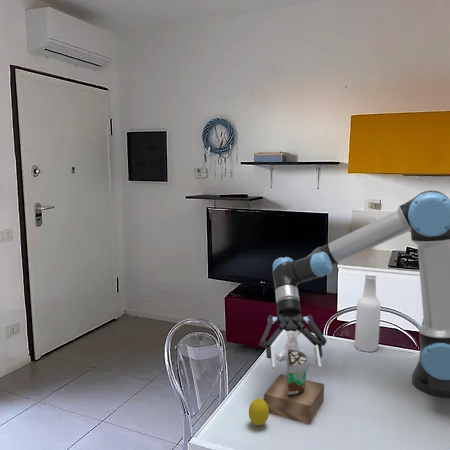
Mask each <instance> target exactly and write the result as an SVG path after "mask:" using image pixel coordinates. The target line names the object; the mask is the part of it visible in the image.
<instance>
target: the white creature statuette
mask: <svg viewBox="0 0 450 450" xmlns="http://www.w3.org/2000/svg"><path fill="white" fill-rule="evenodd" d="M300 334H301V333H300V332H299V331H298V330H296V331H286V336H287V338H286V340H285V342H284V343H285V344H284V347H283V350H281V351H280V352H278V353H277V355H276V357H275V358H276V360H278V361H281V360H285V361H288V349H294V350H298V351H301V350H300V347H299V341H298V339H297V338H298V337H299V335H300Z"/></svg>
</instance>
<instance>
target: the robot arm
mask: <svg viewBox="0 0 450 450" xmlns="http://www.w3.org/2000/svg"><path fill="white" fill-rule="evenodd" d="M409 232H410V238H411V242H413V243H414V244H416V246H417V256H418V267H419V268H418V269H419V279H420V281H419V282H420V291H421V304H422V317H423V318H422V323H421V326H420V327H419V328H418V332H419V333H418V334H419V344H420V345H419V348H420V349H419V359H418V362H417V364H416V366H415V368H414V370H413V372H412V374H411V375H412V377H411V383H412V385H413V386H414V387H415V388H417V389H418V390H419V391H421V392H423V393H426V394H429V395H432V396H437V397H440V398H441V397H442V398H450V199H449V197H448V196H447V195H446V194H444V193H443V192H442V191H438V190H424V191H423V192H420V193H419V194H417V195H416V196H414V197H413V198H412V199H409V200H408V201H407V202H405V203H403V204H400V205H399V206H398V208H397V210H395V211H393V212H391V213H389V214H387V215H385V216H383V217H381V218H379V219H377V220H374V221H372V222H371V223H369V224H365V225H364V226H361V227H360V228H358V229H356V230H354V231H352V232H349V233H347V234H345V235H343V236H341V237H339V238H337V239H335V240H333V241H330V242H329V243H327V244H325V245H324V244H323V246H318V247H316V248H315V249H313V251H312V252H311V253H309V254H308V255H307V256H305V257H303V258H299V259H296V260H294V259H293V258H291V257H288V256H285V257H282V256H281V257H278V258H276V259H274V261H273V263H272V278H273V284H274V285H273V286H274V293H275V302H276V316H273V315H272V314H269V315H268V318H267V324H266V327H265V329H264V332H263V334H262V336H261V338H260V341H259V346H260V347H264V349H265V354H266V358H267V359H269V361H270V370H271V371H275V369H276V363H275V354H274V351H275V350H274V345H273V344H274V342H275V341H276V339H277V338H278V337H279V336H280V334H281V333H282V332H283V331H285V332H287V331H296V330H298V331H299V332H300V334H302V335H303V336H304V337H305V338H307V340H308V341H309V342H310V343H311V344H312V345H313V346H314V347H313V355H314V359H315V360H314V361H315V366H316V370H321V368H322V361H321V358H322V357H323V353H324V352H323V348H322V347H323V346H325V345H326V344H327V339H326V337H325V336H324V334H323V333H322V331H321V330H320V329H319V327H318V325H317V324H316V323H315V321H314V318H313V315H312V314H309V315H308V316H307V315H306V316H304V315H302V309H301V307H302V306H301V302H300V295H299V288H298V284H302V283H305V282H308V281H312V280H314V279H318V278H323V277H325V276H327V275H330V274H331V273H332V272H333V266H335V265H338V264H339V263H341V262H344V261H345V260H349V259H350V258H353V257H355V256H357V255H360V254H361V253H364V252H365V251H368V250H371V249H372V248H375V247H377V246H379V245H381V244H384V243H386V242H388V241H390V240H392V239H395V238H397V237H399V236H401V235H404V234H406V233H409ZM275 322H276V323H277V324H278V325H279V326H278V328H276V330H275V331H274V332H273V334H272V335H271V336H270V338H269V339H268V340H267V337H268V335H269V333H270V330H271V329H272V327H273V326H272V325H274V324H275ZM303 322H305V323H306V324H307V325H308V327H309V329H310V330H311V331H310V330H309V329H308V328H307V327H306V325H305V324H304V323H303ZM266 340H267V341H266Z"/></svg>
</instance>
